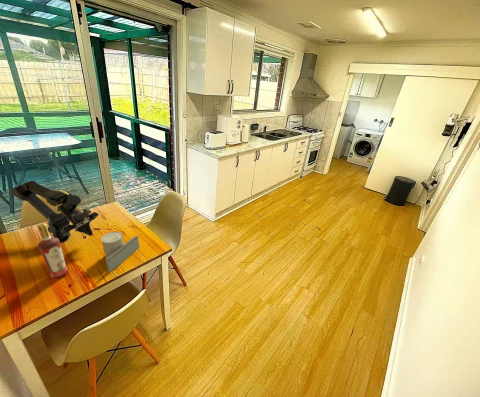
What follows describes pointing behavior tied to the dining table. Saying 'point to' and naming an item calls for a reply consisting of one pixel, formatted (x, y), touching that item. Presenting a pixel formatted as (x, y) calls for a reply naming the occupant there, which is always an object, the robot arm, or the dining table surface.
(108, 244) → the grey stubby cylinder
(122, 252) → the grey rectangular panel
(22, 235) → the dining table surface
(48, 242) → the liquor
